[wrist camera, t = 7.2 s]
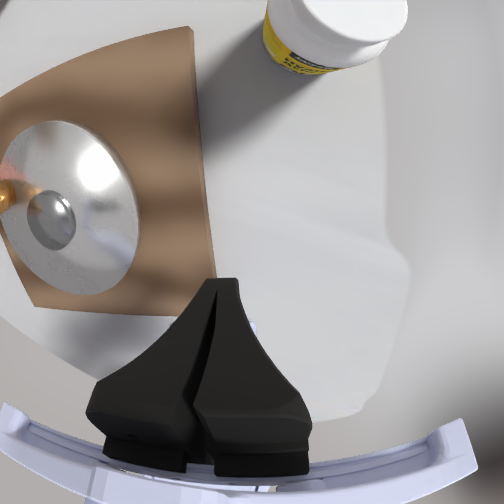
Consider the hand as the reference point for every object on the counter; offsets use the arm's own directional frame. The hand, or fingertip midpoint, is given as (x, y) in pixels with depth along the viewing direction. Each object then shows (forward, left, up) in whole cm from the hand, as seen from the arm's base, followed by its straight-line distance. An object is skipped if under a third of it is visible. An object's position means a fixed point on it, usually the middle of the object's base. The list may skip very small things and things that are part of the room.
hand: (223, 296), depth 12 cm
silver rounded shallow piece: (+3, +14, -7) cm, 16 cm away
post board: (+2, +13, -9) cm, 16 cm away
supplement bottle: (+12, -5, -10) cm, 16 cm away
